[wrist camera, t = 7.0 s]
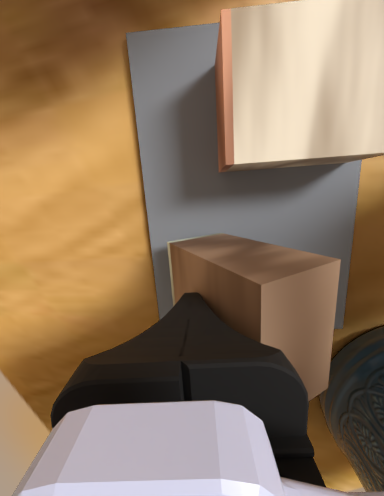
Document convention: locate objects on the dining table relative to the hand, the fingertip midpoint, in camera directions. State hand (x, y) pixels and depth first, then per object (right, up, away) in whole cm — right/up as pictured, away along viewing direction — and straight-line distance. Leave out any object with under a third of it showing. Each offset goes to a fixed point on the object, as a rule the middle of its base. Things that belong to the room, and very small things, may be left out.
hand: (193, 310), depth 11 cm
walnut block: (0, +1, +4) cm, 4 cm away
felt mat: (+4, +6, +4) cm, 8 cm away
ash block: (+1, +11, 0) cm, 11 cm away
